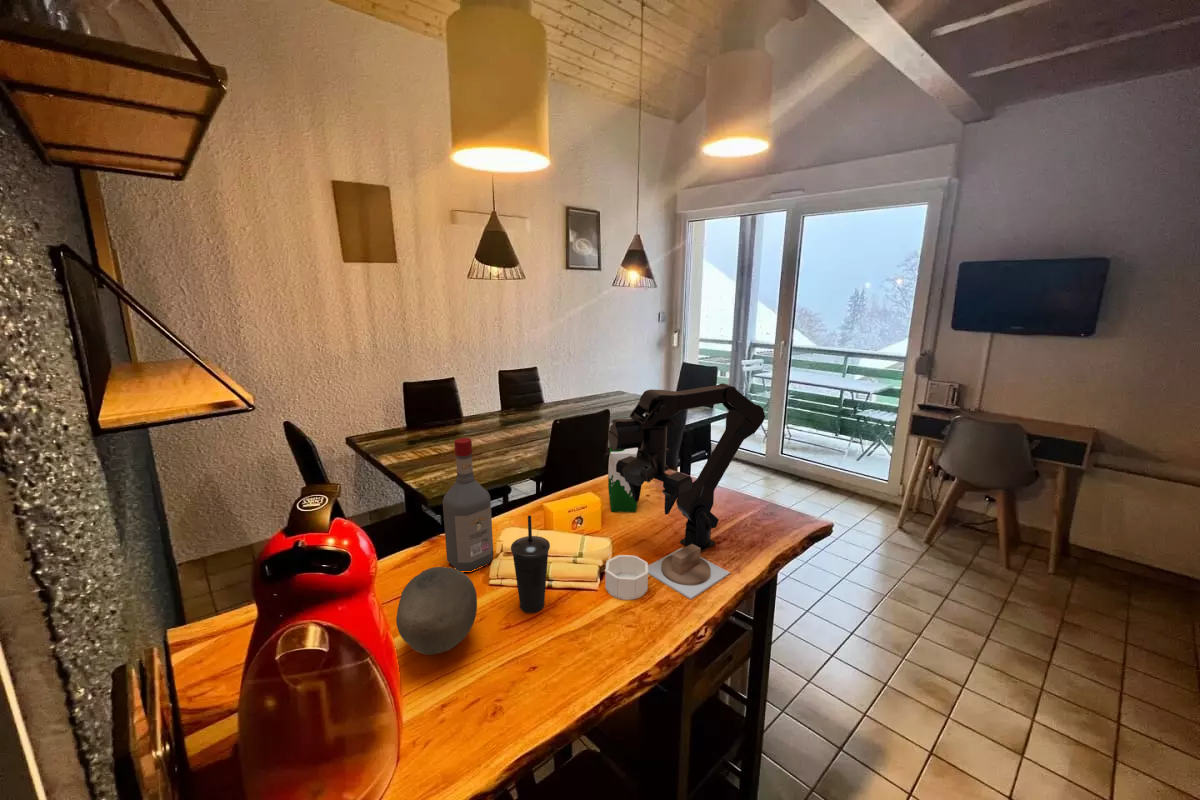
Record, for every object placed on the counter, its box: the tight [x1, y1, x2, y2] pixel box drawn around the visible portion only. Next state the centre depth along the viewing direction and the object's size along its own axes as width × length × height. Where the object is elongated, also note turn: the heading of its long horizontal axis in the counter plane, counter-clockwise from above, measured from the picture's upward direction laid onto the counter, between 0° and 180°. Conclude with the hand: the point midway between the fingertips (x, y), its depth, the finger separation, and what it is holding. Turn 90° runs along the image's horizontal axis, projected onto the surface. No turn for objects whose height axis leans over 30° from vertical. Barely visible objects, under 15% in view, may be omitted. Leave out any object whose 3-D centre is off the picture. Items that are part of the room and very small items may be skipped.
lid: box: [661, 544, 710, 585], centre depth 111 cm, size 11×11×5 cm
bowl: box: [604, 554, 649, 601], centre depth 106 cm, size 9×9×5 cm
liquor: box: [442, 437, 494, 571], centre depth 112 cm, size 9×9×30 cm
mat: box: [648, 547, 731, 600], centre depth 112 cm, size 14×14×1 cm
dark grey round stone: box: [395, 566, 478, 656], centre depth 87 cm, size 14×14×15 cm
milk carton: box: [607, 445, 639, 513], centre depth 141 cm, size 9×9×20 cm
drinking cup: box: [510, 515, 551, 614], centre depth 98 cm, size 8×8×20 cm
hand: (651, 507), depth 117 cm, fingers open, 9 cm apart
